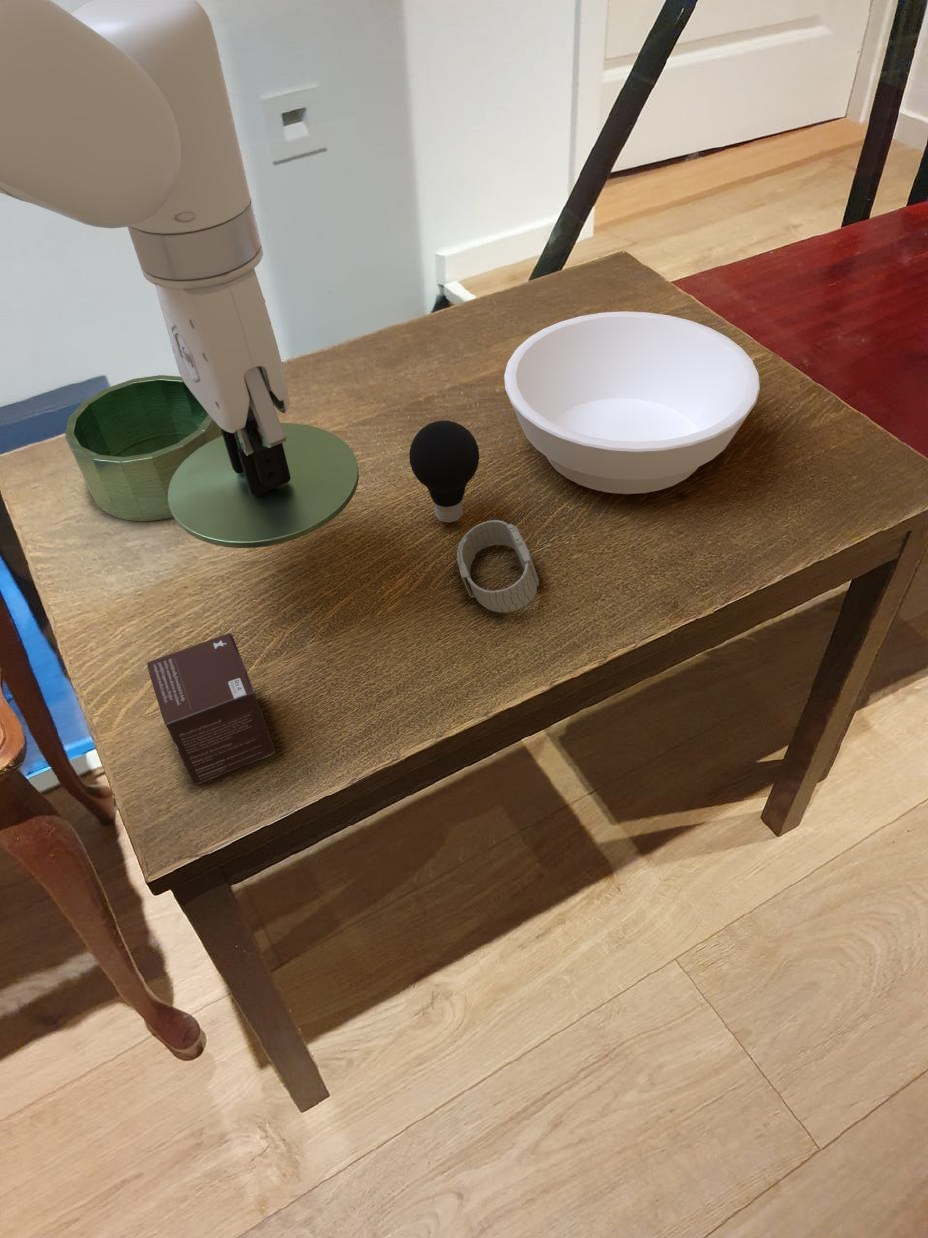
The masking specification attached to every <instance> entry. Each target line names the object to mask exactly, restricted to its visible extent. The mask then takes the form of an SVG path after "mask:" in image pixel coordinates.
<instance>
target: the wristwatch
mask: <svg viewBox="0 0 928 1238" xmlns="http://www.w3.org/2000/svg"><path fill="white" fill-rule="evenodd" d="M492 546H506V547H509V548H511V550H514V551H515V553H516V555H517V558H518V561H519V563H520V565H521V568H522V569H523V573H522V574H521V576H520V577H519V578H518V580H517V581H516V582H514V583H513V584H511V585H510V586H508V587H506V588H503V589H498V590H497V589H496V590H488V589H484V588H483V587H481V586H479V585H478V584H476V583H475V582H474V581H473V580H472V575H471V568H472V565H473V561H474V560H475V558H476V555H477V554H478V553H479V552H481V551H482V550H484V549H486V548H488V547H492ZM456 559H457V565H458V568H459V569H458V570H459V574H460V577H461V580H462V582H463V584H464V587H465V589H466V591H467V594H468V595H469V597H470V598H472V599H474V598H475V599H476V601H477V602H478V603H479V604H480V605H481V606H482V607H483V608H485V609H487V610H489V611H492V612H495V613H510V612H515V611H517V610H521V609H522V608H524V607H525V606H527V605H528V604H530V603H531V602H532V601H533V600H534V598H535V597H536V594H537V590H538V588H537V587H539V586H540V579H539V576H538V573H537V570H536V568H535V565H534V561H533V559H532V557H531V553H530V551H529V549H528V546H527V544H526V542H525V540H524V539H523V537H522V534H521V533H520V531H519V529H518V527H517V526H515V525H514V524H512V523H509V524H508V523H507V522H505V521H504V520H498V519H493V520H492V519H491V520H486V521H482V522H480V523H479V524H476V525H474V526H473V527H472V528H470V529H469V530H468V531H467V532H466V533H465V534H464V535H463V536H462V538H461V540H460V541H459V543H458V546H457V551H456Z"/></svg>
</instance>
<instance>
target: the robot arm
mask: <svg viewBox="0 0 928 1238" xmlns="http://www.w3.org/2000/svg"><path fill="white" fill-rule="evenodd" d="M229 98H230V97H229V95H228V90H227V85H226V80H225V75H224V71H223V67H222V62H221V58H220V54H219V49H218V44H217V40H216V37H215V33H214V29H213V25H212V22H211V20H210V17H209V16H208V13H207V12H206V10H205V9H204V8H203V7H202V5H201V4H200V3H199V1H198V0H91V1H88V2H87V3H85V4H83V5H82V6H80V7H78V8H77V9H75V10H74V11H72V12H68V11H67V10H65V9H64V8H62V7H61V6H60V5H58V4H57V3H55V2H54V1H53V0H0V194H3V195H5V196H8V197H11V198H14V199H16V200H19V201H22V202H26V203H29V204H32V205H35V206H38V207H40V208H43V209H45V210H47V211H51V212H53V213H56V214H59V215H61V216H63V217H66V218H68V219H71V220H73V221H76V222H78V223H81V224H84V225H86V226H91V227H94V228H102V229H120V228H127V230H128V233H129V236H130V239H131V243H132V246H133V249H134V252H135V254H136V257H137V261H138V263H139V266H140V269H141V273H142V275H143V277H144V278H145V279H146V280H147V281H148V282H149V283H151V284H152V285H155V286H154V287H155V290H156V295H157V297H158V302H159V305H160V309H161V313H162V317H163V320H164V324H165V327H166V331H167V335H168V338H169V342H170V345H171V349H172V353H173V356H174V360H175V363H176V368H177V370H178V373H179V376H180V377H182V379H183V381H184V383H185V384H186V386H187V387H188V388H189V390H190V391H191V392H192V394H193V395H194V396H195V397H196V399H197V400H198V401H199V403H200V404H201V405H202V406H203V408H204V409H205V410H206V411H207V413H208V414H209V415H210V416H211V417H212V419H213V420H214V421H215V422H216V423H217V425H218V426H219V427H220V428H221V432H222V435H223V439H224V442H225V445H226V448H227V452H228V455H229V458H230V462H231V465H232V468H233V470H234V471H235V472H236V473H237V474H241V473H244V474H245V478H246V481H247V484H248V488H249V490H250V492H251V493H252V494H253V495H259V494H261V493H264V492H266V491H269V490H271V489H273V488H276V487H278V486H281V485H283V484H286V483H288V482H289V481H290V479H291V477H290V472H289V468H288V464H287V460H286V456H285V452H284V448H283V444H282V443H283V442H285V441H286V437H285V434H284V431H283V429H282V426H281V424H280V423H281V421H280V418H279V416H278V414H277V413H278V412H277V410H278V411H279V412H281V413H282V414H286V412H287V411H288V409H289V407H290V396H289V390H288V385H287V378H286V375H285V374H286V373H285V369H284V367H283V363H282V357H281V355H280V354H281V353H280V351H279V347H278V343H277V340H276V336H275V332H274V328H273V325H272V321H271V318H270V315H269V311H268V308H267V305H266V299H265V297H264V295H263V291H262V288H261V284H260V282H259V279H258V276H257V273H256V270H255V268H257V266H258V265H259V264H260V262H261V261H262V259H263V256H264V250H263V246H262V242H261V237H260V233H259V229H258V223H257V219H256V214H255V210H254V206H253V200H252V197H251V193H250V189H249V185H248V179H247V175H246V170H245V165H244V162H243V157H242V152H241V148H240V143H239V139H238V134H237V130H236V125H235V121H234V116H233V111H232V107H231V102H230V99H229ZM276 409H277V410H276ZM253 421H257V424H258V427H256V428H254V429H251V430H250V432H248V429H247V426H246V424H248V423H251V422H253ZM236 431H237V435H238V438H239V441H240V444H241V447H242V448H241V449H239V450H238V446H237V443H236V440H235V436H234V432H236Z"/></svg>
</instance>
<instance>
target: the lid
mask: <svg viewBox="0 0 928 1238" xmlns="http://www.w3.org/2000/svg"><path fill="white" fill-rule="evenodd" d="M280 424H281V426H282V429H283V431H284V434H285V437H286V441H285V442H283V443H282V444H283V448H284V452H285V456H286V460H287V464H288V468H289V472H290V477H291V479H290V481H289V482H288V483H286V484H283V485H281V486H278V487H276V488H273V489H271V490H269V491H266V492H264V493H261V494H259V495H253V494H252V493H251V492H250V490H249V488H248V484H247V481H246V478H245V474H244V473H241V474H237V473H236V472H235V471H234V470H233V468H232V465H231V462H230V458H229V455H228V452H227V448H226V445H225V442H224V439H223V436H220V437H218V438H216V439H214V440H212V441H210V442H208V443H206V444H205V445H203V446H202V447H200V448H199V449H197V450H196V451H195V452H193V453H192V454H191V455H190V456H189V457H188V458H187V459H185V460H184V461H183V462H182V464H181V465H180V466H179V467H178V469H177V470H176V472H175V473H174V475H173V477H172V479H171V482H170V484H169V489H168V504H169V508H170V511H171V513H172V515H173V517H172V518H173V519H174V521H175V522H176V524H177V525H178V526H179V528H181V529H182V530H183V531H185V533H187V534H188V535H190V536H191V537H194V538H195V539H197V540H199V541H202V542H203V543H207V544H210V545H214V546H217V547H223V548H232V549H256V548H264V547H265V548H267V547H272V546H276V545H281V544H285V543H288V542H292V541H295V540H297V539H300V538H302V537H305V536H307V535H310V534H312V533H313V532H315V531H317V530H319V529H321V528H322V527H324V526H325V525H327V524H329V523H330V522H331V521H333V520H334V519H335V518H336V517H338V516H339V515H340V513H342V512H343V510H345V508H347V506H348V505H349V503H350V502H351V501H352V499H353V497H354V495H355V493H356V491H357V488H358V485H359V479H360V473H359V472H360V470H359V464H358V461H357V457H356V455H355V453H354V451H353V449H352V448H351V447H350V445H349V444H348V443H346V442H345V441H344V440H343V439H342V438H341V437H339V436H337V435H336V434H335V433H333V432H330V431H328V430H326V429H323V428H320V427H318V426H313V425H308V424H302V423H295V422H280ZM246 426H247V429H248V432H250V430H251V429H254V428H256V427H258V424H257V421H253V422H251V423H248V424H246ZM234 436H235V440H236V443H237V446H238V450H239V449H241V448H242V447H241V444H240V441H239V438H238V435H237V431H236V432H234Z"/></svg>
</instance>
